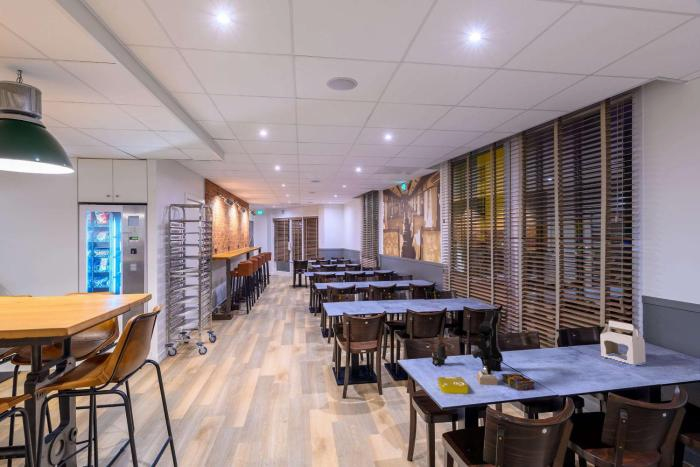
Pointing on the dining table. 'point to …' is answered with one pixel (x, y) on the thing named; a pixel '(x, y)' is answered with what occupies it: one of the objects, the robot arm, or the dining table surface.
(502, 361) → the robot arm
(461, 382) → the element tile
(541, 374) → the dining table surface
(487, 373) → the lens
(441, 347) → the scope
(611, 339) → the gable box
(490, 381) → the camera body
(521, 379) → the decorative book
